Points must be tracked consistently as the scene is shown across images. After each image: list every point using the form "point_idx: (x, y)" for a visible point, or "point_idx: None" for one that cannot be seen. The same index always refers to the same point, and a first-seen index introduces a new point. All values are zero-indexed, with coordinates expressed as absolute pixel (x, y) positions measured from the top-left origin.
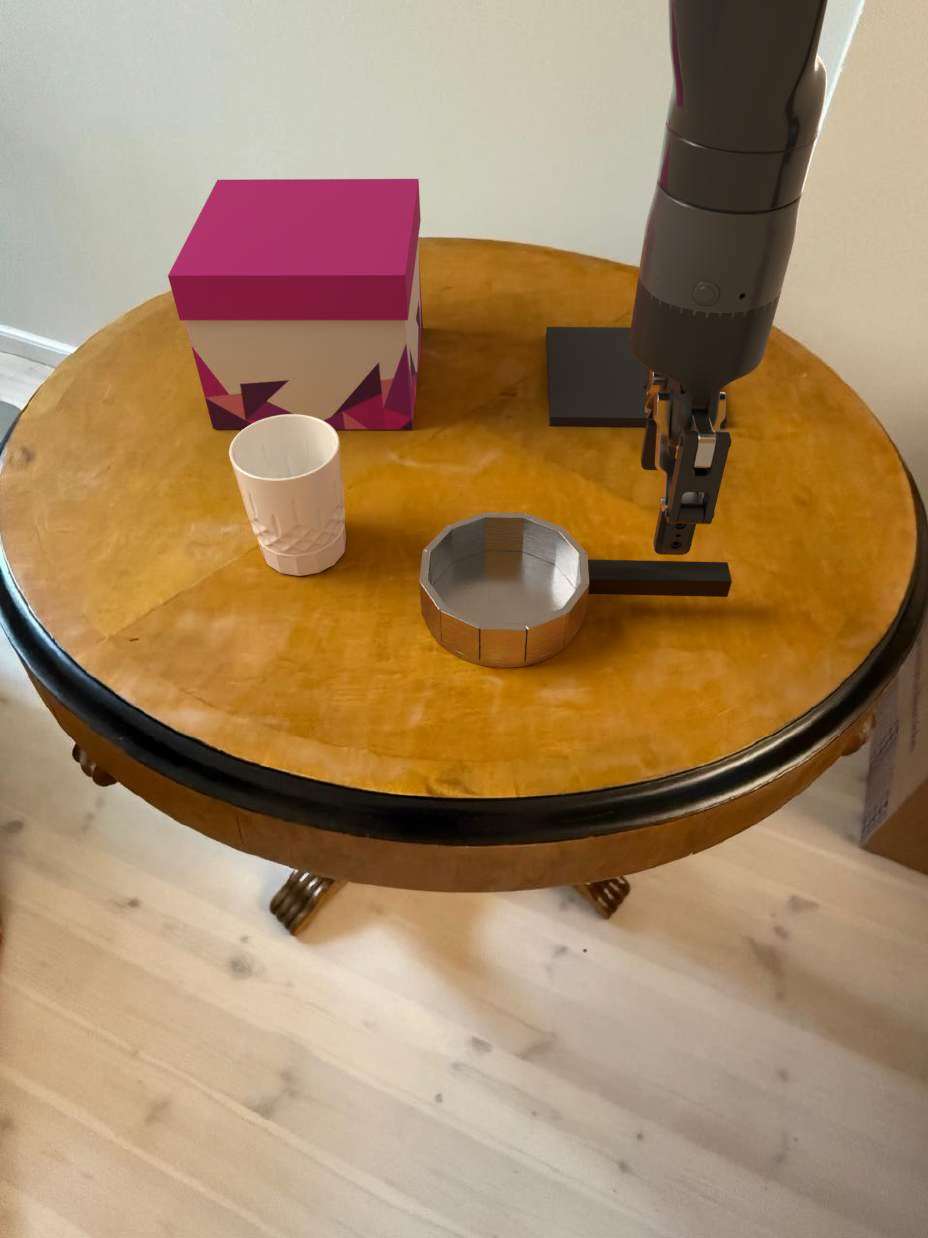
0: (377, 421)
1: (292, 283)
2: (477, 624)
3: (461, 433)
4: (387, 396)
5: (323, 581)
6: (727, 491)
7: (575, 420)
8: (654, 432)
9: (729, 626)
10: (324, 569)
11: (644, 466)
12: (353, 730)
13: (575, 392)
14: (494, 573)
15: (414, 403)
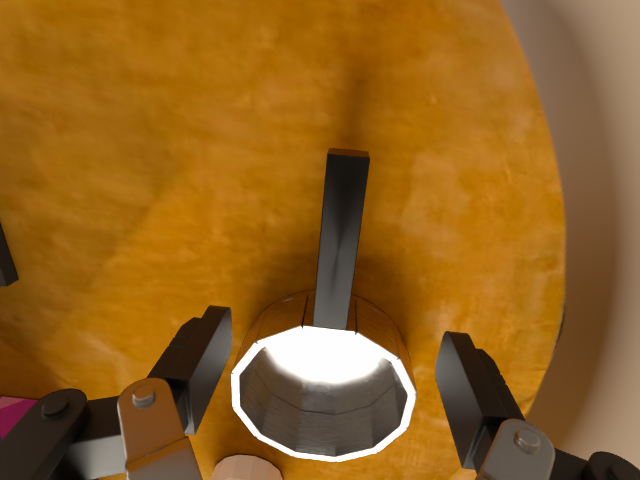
0: None
1: None
2: (402, 429)
3: (62, 363)
4: None
5: (288, 466)
6: (100, 65)
7: (1, 255)
8: (201, 407)
9: (376, 133)
10: (275, 467)
11: (230, 349)
12: (448, 457)
13: None
14: (286, 364)
15: (25, 400)
